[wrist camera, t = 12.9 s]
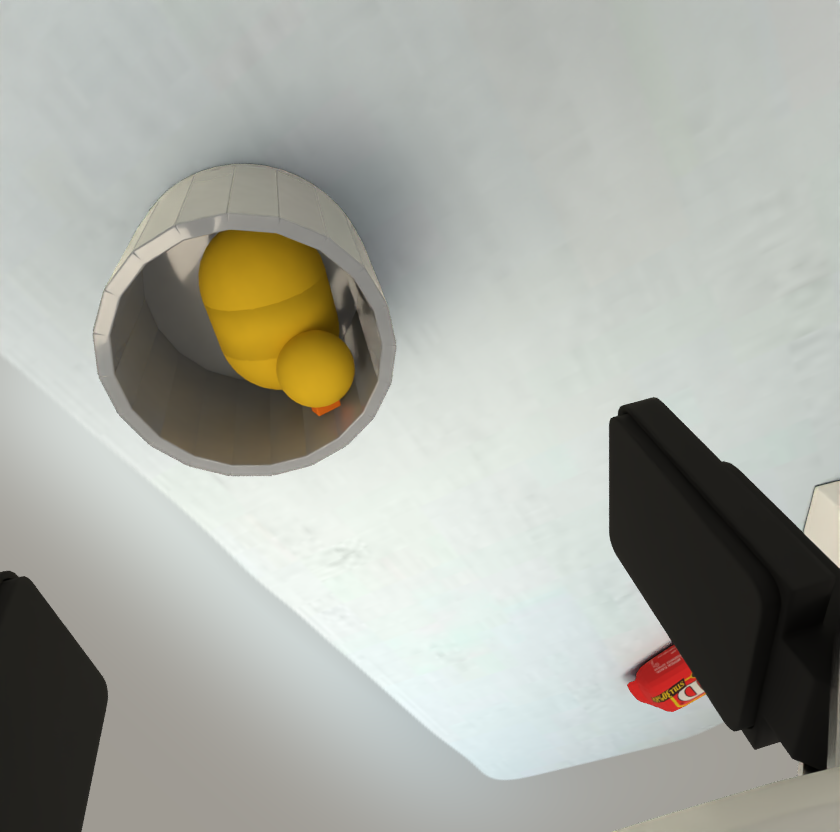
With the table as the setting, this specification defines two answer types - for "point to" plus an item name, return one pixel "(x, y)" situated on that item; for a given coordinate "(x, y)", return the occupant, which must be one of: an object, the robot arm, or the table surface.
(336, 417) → the cup
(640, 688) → the candy bar
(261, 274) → the duck
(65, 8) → the table surface
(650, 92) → the table surface
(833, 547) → the milk
